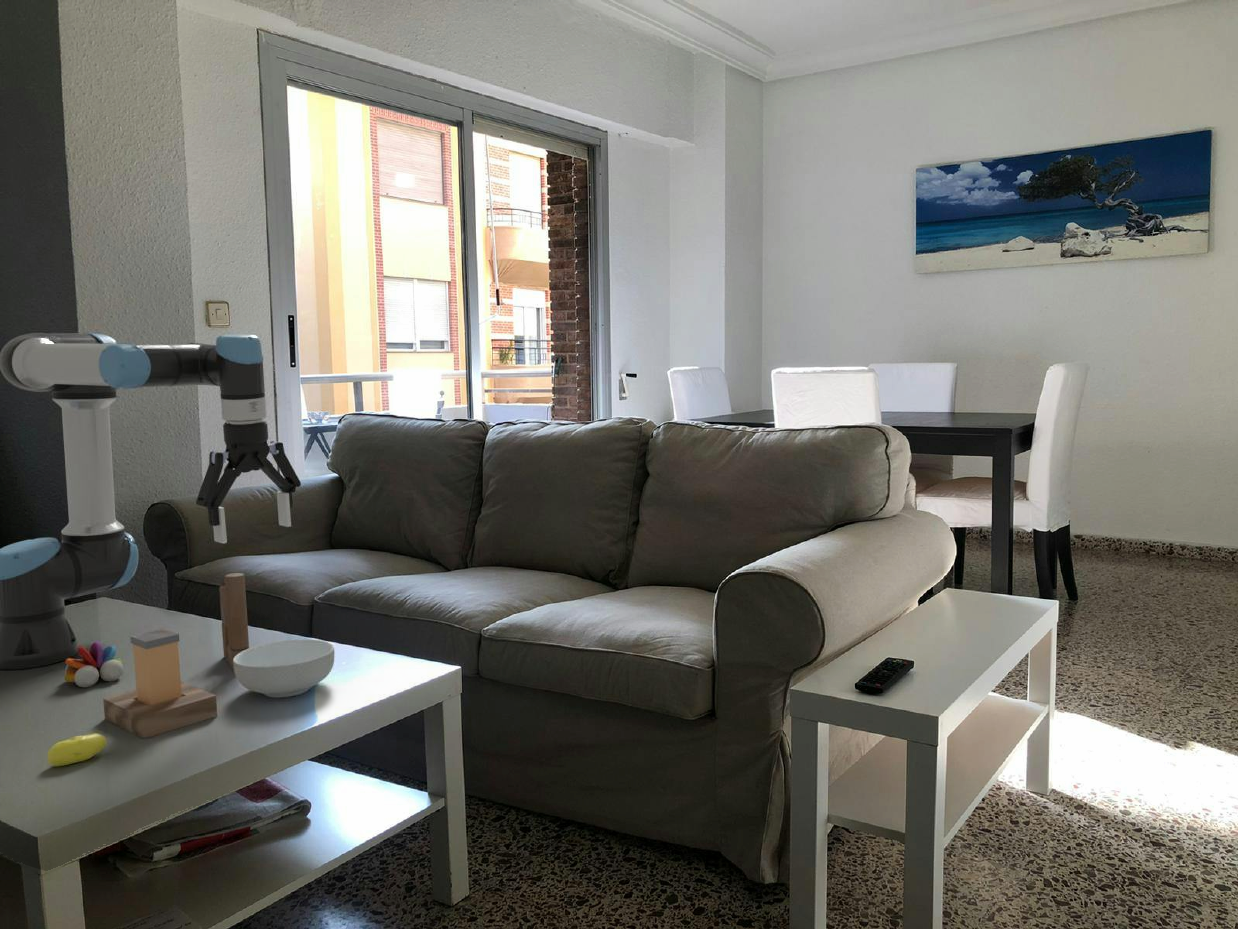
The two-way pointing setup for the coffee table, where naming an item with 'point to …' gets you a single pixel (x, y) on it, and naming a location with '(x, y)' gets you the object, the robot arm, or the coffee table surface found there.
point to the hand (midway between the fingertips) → (253, 533)
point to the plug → (157, 666)
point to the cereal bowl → (284, 666)
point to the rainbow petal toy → (93, 666)
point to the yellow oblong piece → (76, 749)
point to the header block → (159, 711)
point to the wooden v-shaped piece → (234, 616)
